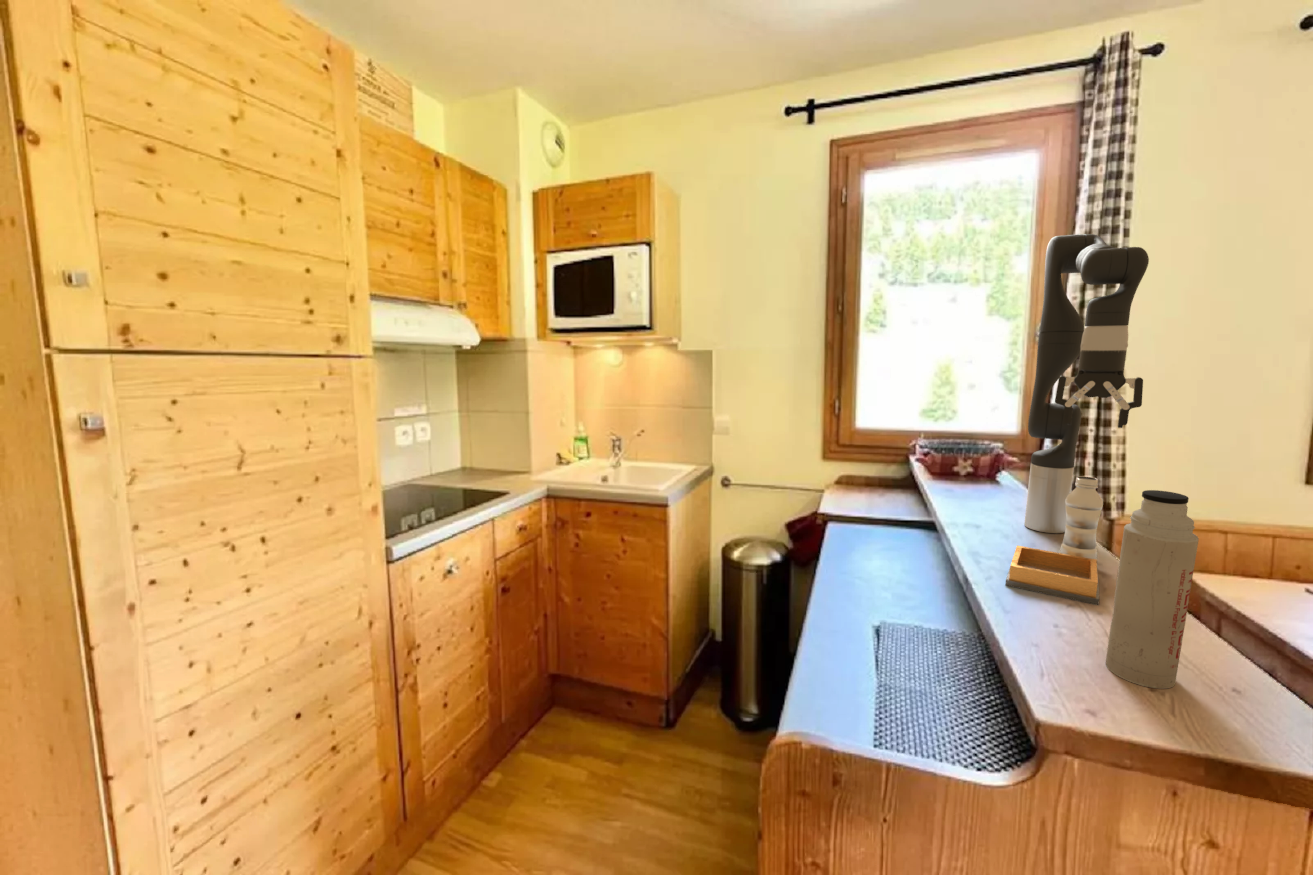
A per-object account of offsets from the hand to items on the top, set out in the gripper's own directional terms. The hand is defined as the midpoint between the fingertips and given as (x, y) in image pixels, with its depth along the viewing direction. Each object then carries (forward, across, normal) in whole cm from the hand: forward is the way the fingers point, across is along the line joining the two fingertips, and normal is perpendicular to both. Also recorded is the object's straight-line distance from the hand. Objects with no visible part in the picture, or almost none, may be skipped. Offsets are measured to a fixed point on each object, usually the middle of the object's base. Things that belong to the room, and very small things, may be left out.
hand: (1093, 425), depth 117 cm
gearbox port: (+32, +4, +13) cm, 34 cm away
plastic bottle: (+32, 0, 0) cm, 32 cm away
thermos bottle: (+32, -8, +44) cm, 55 cm away
